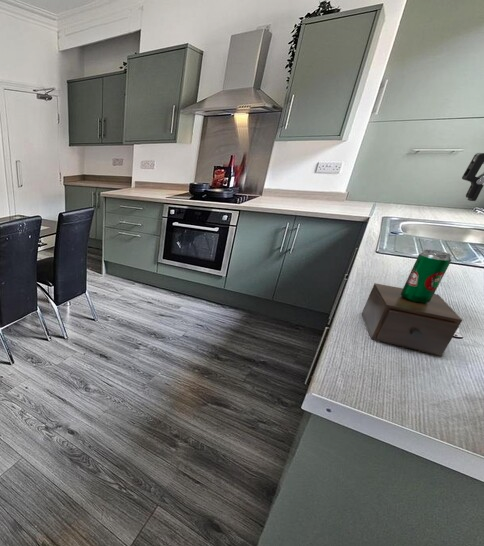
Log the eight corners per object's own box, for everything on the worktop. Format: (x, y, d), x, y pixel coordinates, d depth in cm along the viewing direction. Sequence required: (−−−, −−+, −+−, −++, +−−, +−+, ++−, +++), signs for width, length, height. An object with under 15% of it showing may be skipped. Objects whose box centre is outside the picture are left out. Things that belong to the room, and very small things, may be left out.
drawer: (443, 358, 68) (461, 327, 65) (377, 341, 74) (391, 313, 70) (422, 327, 79) (436, 300, 76) (366, 315, 85) (377, 289, 82)
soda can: (397, 292, 78) (418, 247, 73) (425, 298, 75) (449, 251, 71) (402, 300, 74) (424, 253, 70) (432, 306, 72) (457, 257, 67)
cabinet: (441, 356, 70) (462, 320, 66) (371, 339, 76) (386, 304, 72) (421, 327, 81) (438, 294, 77) (361, 313, 87) (374, 283, 83)
